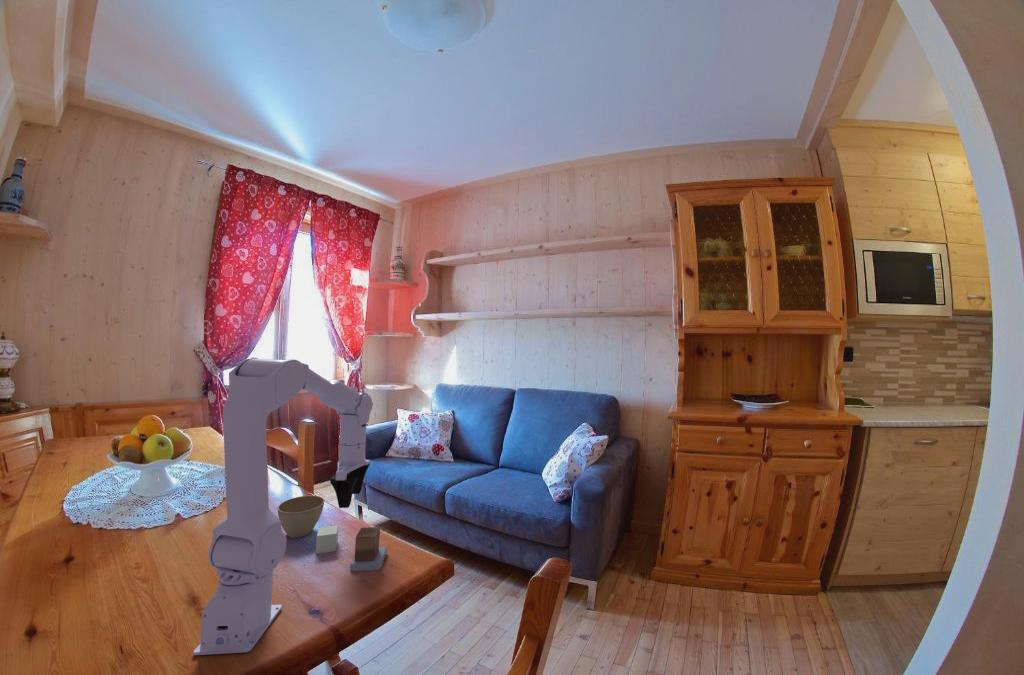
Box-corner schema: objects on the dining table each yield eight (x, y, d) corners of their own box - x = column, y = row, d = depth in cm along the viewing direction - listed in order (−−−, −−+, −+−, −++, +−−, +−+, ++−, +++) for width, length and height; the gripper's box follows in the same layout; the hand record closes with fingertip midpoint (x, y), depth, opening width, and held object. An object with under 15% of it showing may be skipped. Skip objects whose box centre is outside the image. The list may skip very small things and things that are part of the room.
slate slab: (379, 572, 74) (380, 562, 74) (349, 574, 74) (350, 564, 74) (386, 555, 80) (386, 546, 80) (358, 556, 80) (359, 547, 80)
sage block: (335, 551, 81) (336, 533, 81) (315, 554, 79) (316, 536, 79) (337, 542, 84) (338, 525, 84) (318, 544, 83) (319, 527, 83)
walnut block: (374, 560, 75) (375, 536, 75) (354, 561, 74) (355, 536, 75) (378, 550, 79) (380, 527, 79) (360, 550, 78) (361, 527, 79)
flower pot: (302, 546, 82) (303, 515, 82) (265, 540, 84) (267, 509, 84) (332, 525, 92) (333, 497, 92) (298, 520, 94) (300, 493, 94)
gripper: (360, 451, 78) (357, 513, 78) (378, 435, 92) (375, 487, 92) (327, 451, 77) (323, 514, 77) (349, 434, 92) (347, 488, 91)
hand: (350, 500), depth 84 cm, fingers open, 7 cm apart
